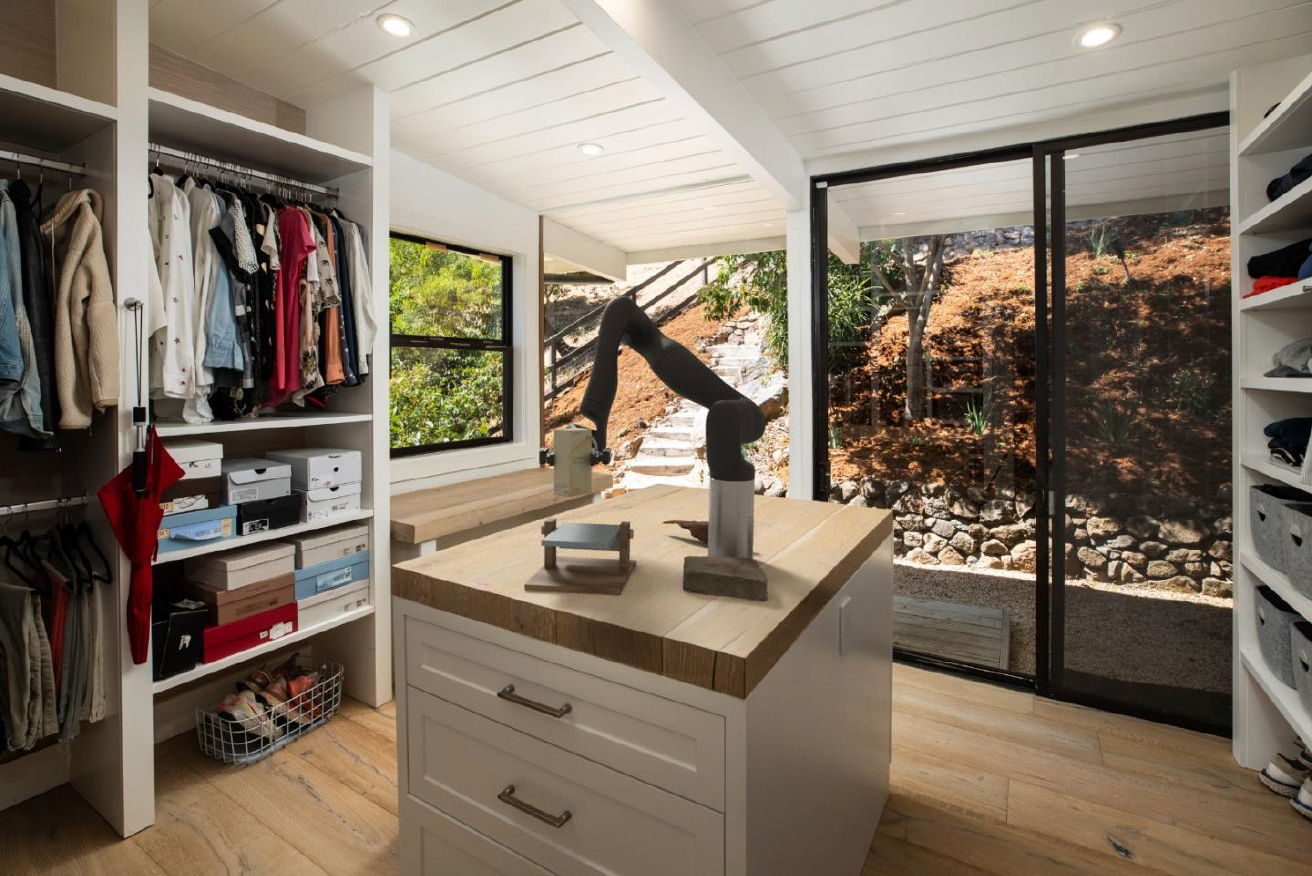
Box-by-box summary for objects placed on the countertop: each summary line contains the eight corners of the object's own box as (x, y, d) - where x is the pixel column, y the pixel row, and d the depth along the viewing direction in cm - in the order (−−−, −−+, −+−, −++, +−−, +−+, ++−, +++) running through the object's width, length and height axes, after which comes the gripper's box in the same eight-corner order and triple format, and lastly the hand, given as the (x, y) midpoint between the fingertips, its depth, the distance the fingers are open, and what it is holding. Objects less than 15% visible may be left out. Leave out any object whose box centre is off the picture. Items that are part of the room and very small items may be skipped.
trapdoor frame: (552, 560, 138) (552, 512, 137) (638, 565, 136) (638, 516, 135) (522, 589, 119) (522, 533, 118) (621, 595, 117) (622, 538, 116)
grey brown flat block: (768, 603, 115) (769, 579, 115) (681, 601, 116) (682, 577, 116) (758, 574, 132) (759, 553, 131) (682, 572, 133) (683, 551, 132)
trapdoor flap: (563, 544, 135) (563, 522, 135) (622, 547, 134) (623, 525, 133) (541, 565, 120) (541, 540, 120) (607, 568, 119) (608, 543, 118)
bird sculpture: (668, 531, 166) (669, 511, 166) (760, 548, 151) (760, 526, 151) (652, 536, 161) (653, 515, 160) (745, 554, 146) (746, 531, 146)
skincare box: (571, 497, 122) (571, 430, 121) (552, 495, 124) (552, 429, 123) (592, 493, 127) (593, 428, 126) (574, 490, 130) (574, 427, 128)
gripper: (543, 431, 139) (532, 439, 122) (613, 432, 139) (611, 440, 123) (543, 468, 139) (532, 480, 123) (613, 468, 140) (611, 481, 123)
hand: (572, 460), depth 123 cm, fingers closed on skincare box, 7 cm apart
